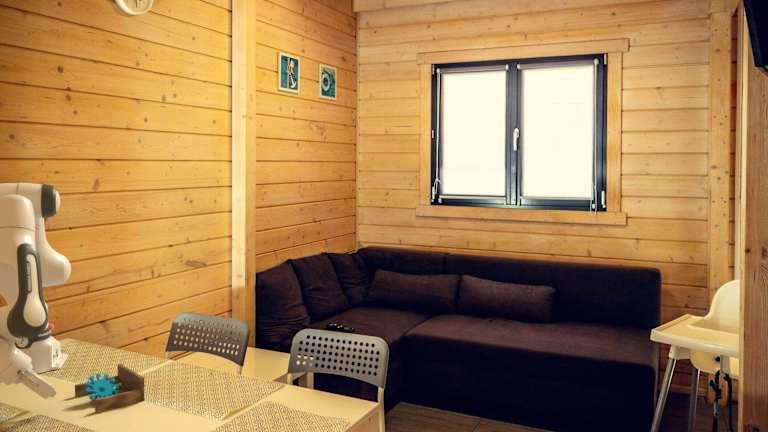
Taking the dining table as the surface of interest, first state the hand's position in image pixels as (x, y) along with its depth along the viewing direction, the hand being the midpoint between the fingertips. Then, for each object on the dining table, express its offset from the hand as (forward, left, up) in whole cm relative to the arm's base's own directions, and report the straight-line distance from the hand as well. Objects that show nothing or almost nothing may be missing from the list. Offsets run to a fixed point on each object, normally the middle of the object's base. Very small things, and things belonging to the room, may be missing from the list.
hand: (53, 394), depth 184 cm
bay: (-10, +12, -5) cm, 17 cm away
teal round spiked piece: (-9, +11, -6) cm, 15 cm away
